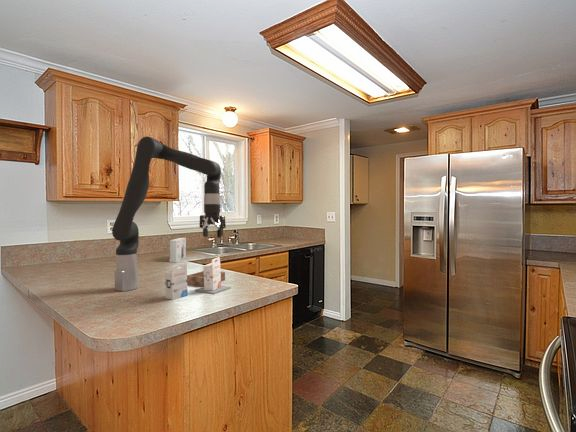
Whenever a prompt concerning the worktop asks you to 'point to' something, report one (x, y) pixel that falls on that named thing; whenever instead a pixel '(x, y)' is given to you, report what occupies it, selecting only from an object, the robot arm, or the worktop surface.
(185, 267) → the ink box
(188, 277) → the crate
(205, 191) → the robot arm
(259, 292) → the worktop surface
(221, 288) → the mat
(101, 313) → the worktop surface
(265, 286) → the worktop surface
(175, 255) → the skincare box
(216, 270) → the ink cartridge box
